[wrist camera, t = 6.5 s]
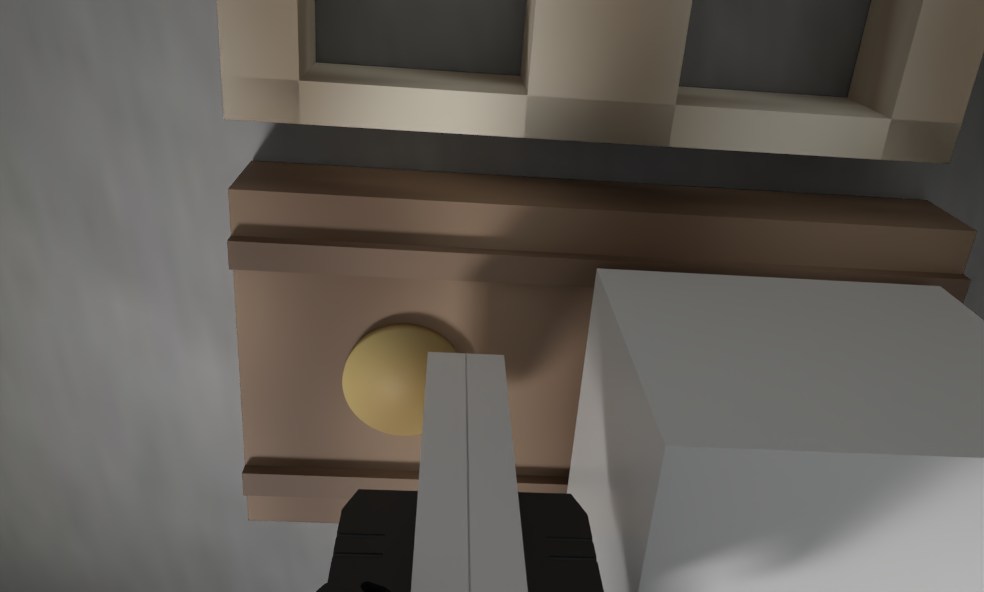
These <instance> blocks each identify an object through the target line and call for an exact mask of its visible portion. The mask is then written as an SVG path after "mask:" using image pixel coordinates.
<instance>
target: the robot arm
mask: <svg viewBox="0 0 984 592" xmlns="http://www.w3.org/2000/svg"><path fill="white" fill-rule="evenodd" d="M316 592H604V590H603V585H602V580H601V576H600V571H599V566H598V562H597V561H596V552H595V547H594V543H593V542H592V533H591V528H590V524H589V519H588V514H587V513H586V512H585V511H584V509H583V508H582V507H581V506H580V504H579V503H578V502H577V501H576V499H575V498H574V497H573V496H572V494H566V493H534V492H518V489H517V479H516V469H515V459H514V449H513V439H512V429H511V419H510V409H509V399H508V389H507V379H506V369H505V359H504V355H492V354H467V353H443V352H428V356H427V370H426V384H425V398H424V412H423V427H422V441H421V455H420V469H419V483H418V491H404V490H372V489H358V490H357V492H356V493H355V494H354V495H353V496H352V498H351V499H350V500H349V501H348V502H347V504H346V505H345V506H344V507H343V508H342V511H341V516H340V521H339V526H338V531H337V537H336V542H335V547H334V552H333V557H332V562H331V567H330V572H329V578H328V583H326V584H324V585H323V586H322V587H321V588H320V589H318V590H317V591H316Z"/></svg>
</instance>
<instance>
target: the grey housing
mask: <svg viewBox="0 0 984 592" xmlns="http://www.w3.org/2000/svg"><path fill="white" fill-rule="evenodd" d="M567 494H572V496H573V497H574V498H575V499H576V501H577V502H578V503H579V504H580V506H581V507H582V508H583V509H584V511H585V512H586V513H587V514H588V519H589V524H590V528H591V533H592V542H593V543H594V547H595V552H596V561H597V562H598V566H599V571H600V576H601V580H602V585H603V590H604V592H984V320H983V319H982V318H980V317H979V316H978V315H977V314H975V313H974V312H973V311H971V310H970V309H969V308H968V307H966V306H965V305H964V304H962V303H961V302H960V301H959V300H957V299H956V298H955V297H954V296H952V295H951V294H950V293H948V292H947V291H946V290H945V289H943V288H942V287H941V286H928V285H909V284H890V283H870V282H851V281H832V280H812V279H793V278H774V277H754V276H735V275H716V274H696V273H677V272H658V271H638V270H619V269H600V268H597V271H596V278H595V286H594V293H593V301H592V308H591V316H590V323H589V331H588V338H587V346H586V353H585V360H584V368H583V375H582V383H581V390H580V398H579V405H578V413H577V420H576V428H575V435H574V443H573V450H572V458H571V465H570V473H569V480H568V488H567Z"/></svg>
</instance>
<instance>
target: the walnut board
mask: <svg viewBox="0 0 984 592" xmlns="http://www.w3.org/2000/svg"><path fill="white" fill-rule="evenodd" d="M228 194H229V210H230V227H231V236H230V238H229V239H228V241H227V245H228V260H229V269H231V270H233V275H234V291H235V308H236V324H237V340H238V356H239V372H240V389H241V405H242V421H243V437H244V453H245V467H244V470H243V472H242V479H243V495H247V502H248V518H249V520H256V521H287V522H319V523H339V521H340V516H341V511H342V508H343V507H344V506H345V505H346V504H347V502H348V501H349V500H350V499H351V498H352V496H353V495H354V494H355V493H356V492H357V490H358V489H372V490H404V491H418V483H419V469H420V455H421V441H422V427H423V412H424V398H425V384H426V370H427V356H428V352H443V353H467V354H492V355H504V359H505V369H506V379H507V389H508V399H509V409H510V419H511V429H512V439H513V449H514V459H515V469H516V479H517V489H518V492H534V493H566V494H567V488H568V480H569V473H570V465H571V458H572V450H573V443H574V435H575V428H576V420H577V413H578V405H579V398H580V390H581V383H582V375H583V368H584V360H585V353H586V346H587V338H588V331H589V323H590V316H591V308H592V301H593V293H594V286H595V278H596V271H597V268H600V269H619V270H638V271H658V272H677V273H696V274H716V275H735V276H754V277H774V278H793V279H812V280H832V281H851V282H870V283H890V284H909V285H928V286H941V287H942V288H943V289H945V290H946V291H947V292H948V293H950V294H951V295H952V296H954V297H955V298H956V299H957V300H959V301H960V302H961V303H962V304H963V301H964V298H965V296H966V293H967V290H968V287H969V284H970V281H971V280H970V279H969V278H967V277H966V276H965V275H963V272H964V269H965V266H966V263H967V260H968V257H969V254H970V251H971V248H972V245H973V242H974V239H975V236H976V233H977V231H976V230H974V229H972V228H971V227H969V226H968V225H966V224H964V223H963V222H961V221H960V220H958V219H956V218H955V217H953V216H952V215H950V214H948V213H947V212H945V211H943V210H942V209H940V208H939V207H937V206H935V205H934V204H932V203H931V202H929V201H927V200H913V199H896V198H879V197H862V196H844V195H827V194H810V193H793V192H776V191H759V190H742V189H725V188H708V187H691V186H673V185H656V184H639V183H622V182H605V181H588V180H571V179H554V178H537V177H520V176H502V175H485V174H468V173H451V172H434V171H417V170H400V169H383V168H366V167H348V166H331V165H314V164H297V163H280V162H263V161H251V162H250V163H249V164H248V166H247V167H246V168H245V169H244V170H243V172H242V173H241V174H240V175H239V177H238V178H237V179H236V180H235V181H234V183H233V184H232V185H231V186H230V188H229V189H228Z"/></svg>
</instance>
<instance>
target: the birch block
mask: <svg viewBox="0 0 984 592" xmlns="http://www.w3.org/2000/svg"><path fill="white" fill-rule="evenodd" d="M692 1H693V0H527V2H526V14H525V26H524V38H523V49H522V61H521V73H520V76H513V75H498V74H483V73H468V72H453V71H438V70H423V69H407V68H392V67H377V66H362V65H347V64H332V63H317V62H316V40H315V0H217V16H218V32H219V49H220V65H221V81H222V97H223V113H224V119H226V120H242V121H258V122H275V123H291V124H307V125H323V126H340V127H356V128H372V129H388V130H405V131H421V132H437V133H454V134H470V135H486V136H502V137H519V138H535V139H551V140H568V141H584V142H600V143H616V144H633V145H649V146H665V147H681V148H698V149H714V150H730V151H747V152H763V153H779V154H795V155H812V156H828V157H844V158H861V159H877V160H893V161H909V162H926V163H942V164H950V161H951V157H952V154H953V151H954V147H955V144H956V141H957V138H958V134H959V131H960V128H961V125H962V121H963V118H964V115H965V111H966V108H967V105H968V102H969V98H970V95H971V92H972V89H973V85H974V82H975V79H976V76H977V72H978V69H979V66H980V62H981V59H982V56H983V53H984V0H871V4H870V8H869V12H868V16H867V20H866V24H865V28H864V32H863V36H862V40H861V44H860V48H859V52H858V56H857V61H856V65H855V69H854V73H853V77H852V81H851V85H850V89H849V93H848V97H847V98H846V97H831V96H816V95H801V94H785V93H770V92H755V91H740V90H725V89H710V88H695V87H680V86H679V81H680V75H681V69H682V62H683V56H684V50H685V44H686V38H687V31H688V25H689V19H690V13H691V7H692Z"/></svg>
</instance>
